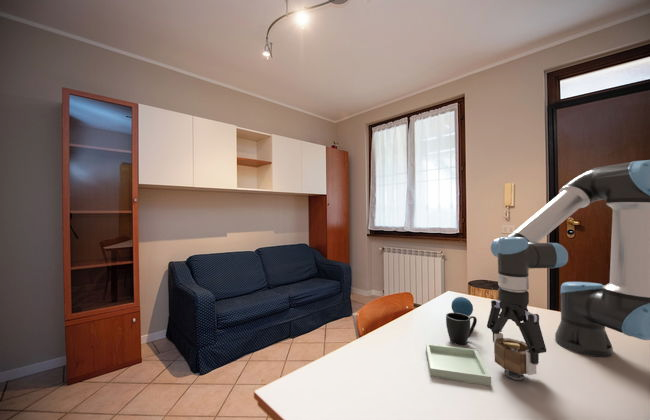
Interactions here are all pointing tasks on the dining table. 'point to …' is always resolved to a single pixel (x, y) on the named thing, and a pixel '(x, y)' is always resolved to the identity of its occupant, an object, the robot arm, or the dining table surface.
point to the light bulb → (462, 306)
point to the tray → (457, 364)
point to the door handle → (512, 374)
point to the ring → (511, 355)
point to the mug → (459, 327)
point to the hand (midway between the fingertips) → (514, 363)
